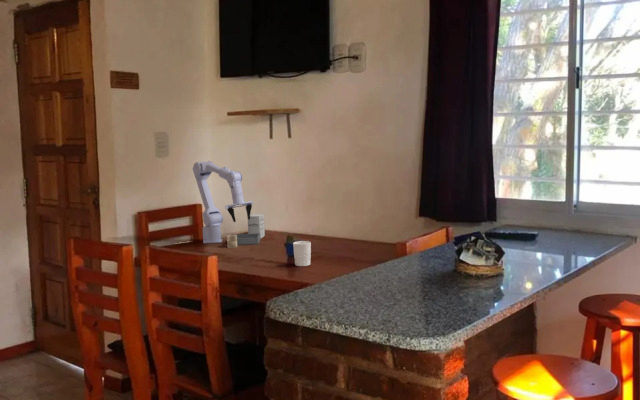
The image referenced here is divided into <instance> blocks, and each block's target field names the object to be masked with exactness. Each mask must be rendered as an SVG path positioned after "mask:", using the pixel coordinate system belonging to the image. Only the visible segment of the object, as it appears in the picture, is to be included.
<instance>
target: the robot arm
mask: <svg viewBox="0 0 640 400" xmlns="http://www.w3.org/2000/svg"><path fill="white" fill-rule="evenodd" d="M192 173H193V175H194V178H195V181H196V185H197V188H198V191H199V194H200V197H201V200H202V204H203V205H204V206H203V207H204V211H203V212H202V220H203V221H202V222H203V224H204V226H202V242H203V244H212V243H213V244H217V243H219V244H220V243H222V242H223V240H224V239H223V238H222V235H221V233H222V232H221V226H222V223H223V222H224V216H223V214H222V212H221V210H220V208H218V207H216V206H215V203H214V199H213V196H212V192H211V190H210V186H209V184H208V180H207V179H208V178H210V176H211V174H212V173H215V174H218V176H219V177H220V178H222V179H223V180H226V182H227V184H228V186H229V188H230V193H231V198H232V203H231V204H226V205H224V208H225V210H227V212H228V213H229V215H230V217H231V219H232V221H233V223H236V217H235V210H234V208H240V207H245V210H246V215H247V221H248V220H249V219H250V215H251V211H252V208H253V205H254V200H250V201H245V199H244V198H245V197H244V194H243V193H244V192H243V188H242V187H243V186H242V180H243V175H242V173H241V172H240V171H238V170H237V171H234V170H233V169H230V168H228V166H223V167H220V166H219V165H217V164H215V163H214V162H213V161H210V160H208V161H200V162H198V161H196V162H195V163H194V164H193V166H192Z"/></svg>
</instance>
